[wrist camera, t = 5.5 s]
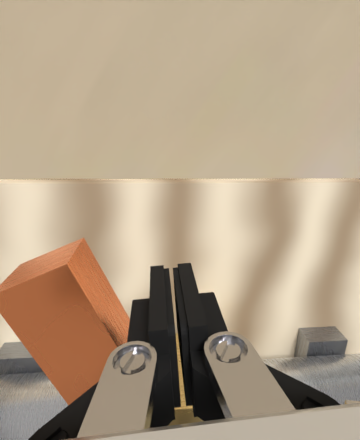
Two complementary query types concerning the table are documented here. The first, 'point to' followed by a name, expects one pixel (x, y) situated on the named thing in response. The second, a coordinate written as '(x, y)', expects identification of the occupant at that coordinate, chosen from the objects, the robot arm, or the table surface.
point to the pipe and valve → (294, 366)
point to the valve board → (206, 245)
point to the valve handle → (65, 316)
